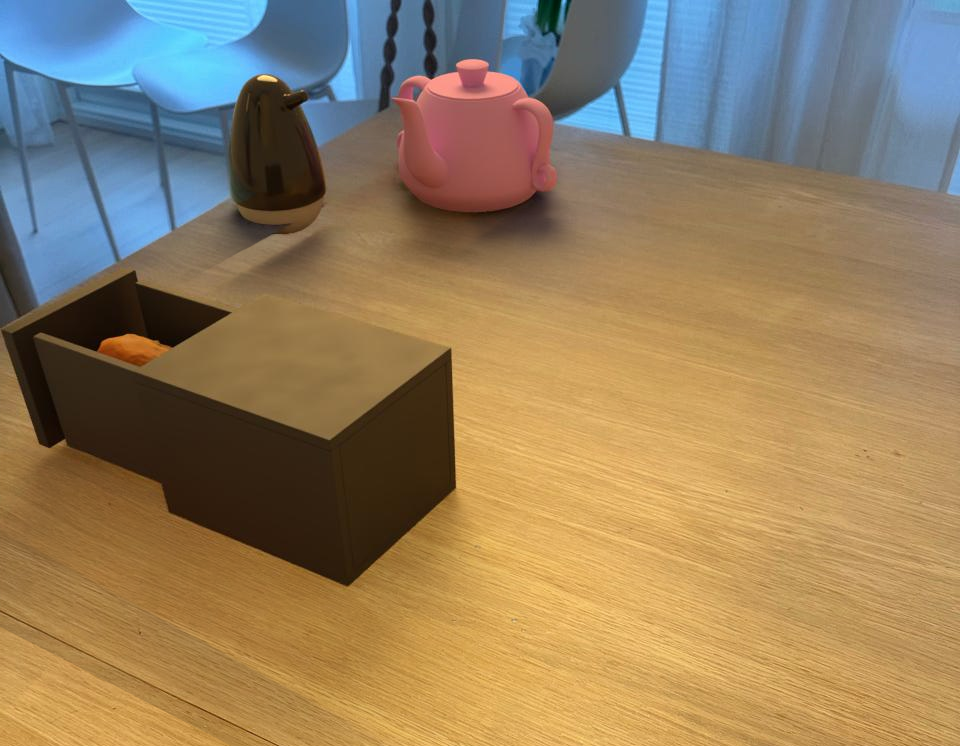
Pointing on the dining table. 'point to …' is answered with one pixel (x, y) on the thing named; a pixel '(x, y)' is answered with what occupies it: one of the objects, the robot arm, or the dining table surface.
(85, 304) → the drawer
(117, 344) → the fruit
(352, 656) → the dining table surface
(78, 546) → the dining table surface
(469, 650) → the dining table surface
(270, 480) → the cabinet
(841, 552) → the dining table surface
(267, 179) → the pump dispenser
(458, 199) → the teapot
